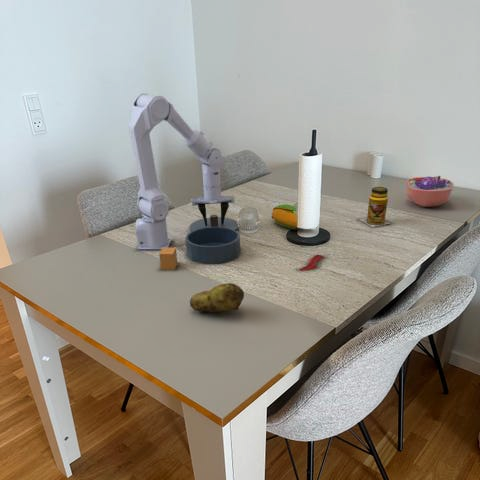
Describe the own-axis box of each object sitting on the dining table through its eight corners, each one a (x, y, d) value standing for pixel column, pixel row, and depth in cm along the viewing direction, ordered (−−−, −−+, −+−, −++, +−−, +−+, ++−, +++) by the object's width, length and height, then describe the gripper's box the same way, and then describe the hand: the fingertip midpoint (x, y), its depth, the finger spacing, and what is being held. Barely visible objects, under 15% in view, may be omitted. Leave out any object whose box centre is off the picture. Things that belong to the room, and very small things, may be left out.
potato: (206, 298, 120) (204, 270, 115) (249, 311, 114) (248, 282, 109) (186, 313, 114) (183, 283, 110) (230, 327, 108) (229, 297, 104)
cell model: (454, 200, 182) (461, 171, 176) (443, 215, 168) (449, 184, 162) (410, 194, 190) (415, 166, 184) (396, 208, 175) (400, 178, 170)
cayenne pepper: (304, 272, 131) (305, 266, 130) (292, 267, 134) (293, 261, 133) (332, 260, 138) (332, 254, 137) (320, 255, 141) (320, 249, 140)
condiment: (373, 227, 159) (377, 192, 153) (358, 219, 166) (362, 186, 160) (390, 224, 162) (395, 189, 156) (375, 216, 168) (379, 183, 162)
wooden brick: (161, 269, 135) (159, 253, 132) (164, 263, 139) (162, 247, 136) (174, 269, 135) (173, 253, 132) (177, 263, 139) (175, 247, 136)
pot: (183, 263, 138) (181, 246, 135) (191, 242, 152) (190, 226, 149) (238, 264, 137) (237, 246, 134) (241, 242, 151) (241, 226, 148)
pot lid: (191, 239, 154) (190, 226, 152) (188, 221, 169) (187, 209, 167) (242, 235, 156) (242, 222, 154) (235, 218, 171) (235, 206, 168)
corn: (280, 197, 165) (325, 210, 152) (281, 218, 169) (325, 232, 156) (266, 204, 161) (311, 217, 148) (267, 224, 165) (310, 239, 153)
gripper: (190, 189, 150) (194, 229, 158) (235, 186, 152) (236, 226, 159) (189, 183, 156) (192, 222, 164) (232, 181, 158) (233, 219, 165)
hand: (214, 224), depth 162 cm, fingers open, 5 cm apart
